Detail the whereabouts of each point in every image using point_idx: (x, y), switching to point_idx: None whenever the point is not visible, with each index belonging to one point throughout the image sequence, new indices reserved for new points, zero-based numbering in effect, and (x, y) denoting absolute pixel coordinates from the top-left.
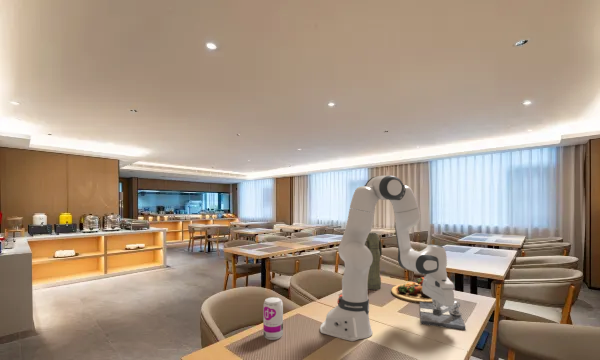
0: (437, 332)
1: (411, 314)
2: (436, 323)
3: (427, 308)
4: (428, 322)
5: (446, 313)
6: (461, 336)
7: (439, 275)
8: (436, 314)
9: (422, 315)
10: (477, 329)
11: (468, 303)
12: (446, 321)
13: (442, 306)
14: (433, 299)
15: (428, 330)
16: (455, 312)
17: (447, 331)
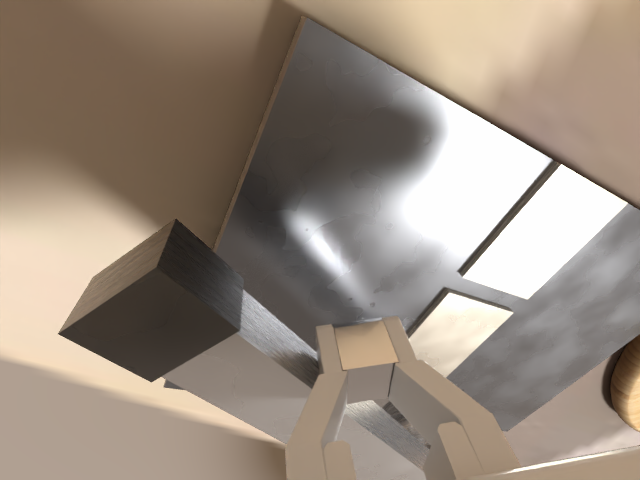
0: (45, 117)
1: (604, 39)
2: (233, 201)
3: (581, 267)
4: (265, 118)
5: (416, 357)
6: (19, 300)
7: None
8: (120, 265)
9: (459, 135)
10: (194, 413)
11: (525, 458)
12: (263, 305)
13: (349, 422)
14: (453, 466)
15: (82, 14)
16: (390, 411)
17: (110, 235)
